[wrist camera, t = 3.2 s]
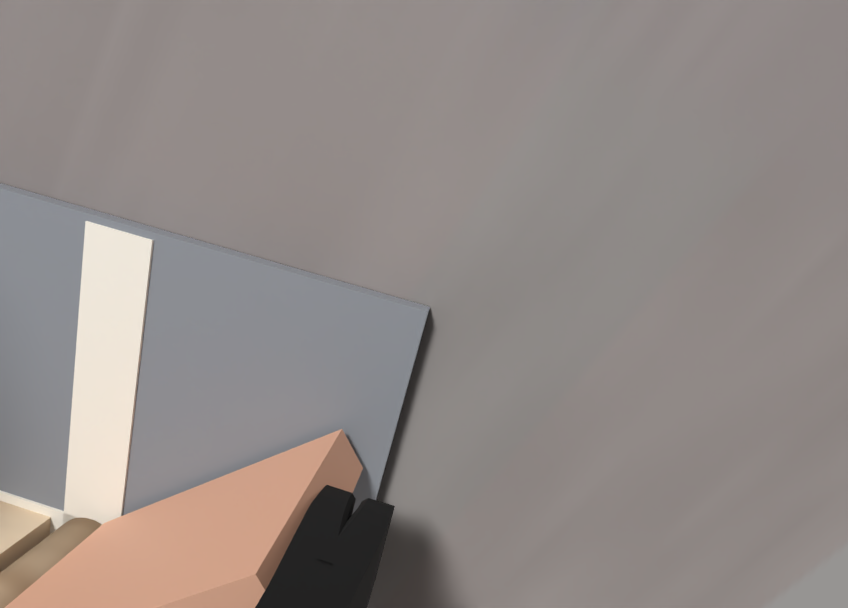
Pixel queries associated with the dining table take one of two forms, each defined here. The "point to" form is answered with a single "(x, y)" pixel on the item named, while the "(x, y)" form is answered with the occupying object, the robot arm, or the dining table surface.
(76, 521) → the fence fixed
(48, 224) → the card
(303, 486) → the tan flat block
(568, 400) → the dining table surface
